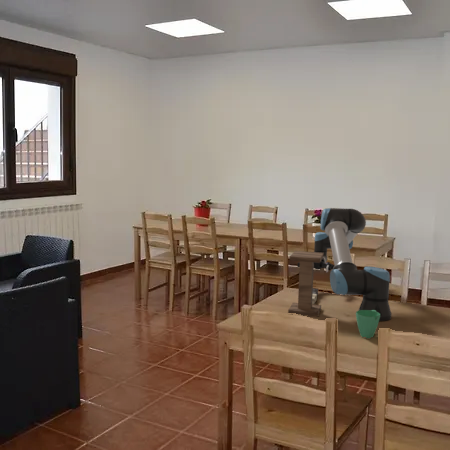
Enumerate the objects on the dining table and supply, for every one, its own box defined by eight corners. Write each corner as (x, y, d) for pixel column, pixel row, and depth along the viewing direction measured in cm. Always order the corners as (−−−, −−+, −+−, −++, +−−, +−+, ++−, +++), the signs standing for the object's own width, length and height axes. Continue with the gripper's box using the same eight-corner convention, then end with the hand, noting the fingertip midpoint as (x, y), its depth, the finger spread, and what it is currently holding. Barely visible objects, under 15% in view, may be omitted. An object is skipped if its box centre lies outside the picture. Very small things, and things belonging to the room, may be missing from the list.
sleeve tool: (313, 304, 279) (314, 298, 279) (304, 303, 281) (304, 297, 281) (319, 294, 300) (319, 288, 300) (310, 293, 302) (310, 288, 301)
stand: (317, 317, 256) (320, 258, 253) (287, 314, 260) (289, 256, 257) (321, 308, 272) (323, 252, 268) (293, 306, 275) (295, 250, 272)
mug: (375, 341, 224) (376, 318, 223) (351, 337, 229) (352, 314, 228) (384, 332, 236) (386, 309, 235) (362, 328, 241) (363, 306, 240)
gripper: (340, 269, 314) (337, 277, 294) (296, 266, 321) (290, 273, 300) (340, 256, 313) (337, 263, 293) (297, 253, 320) (291, 260, 299)
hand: (314, 268), depth 297 cm, fingers open, 13 cm apart
